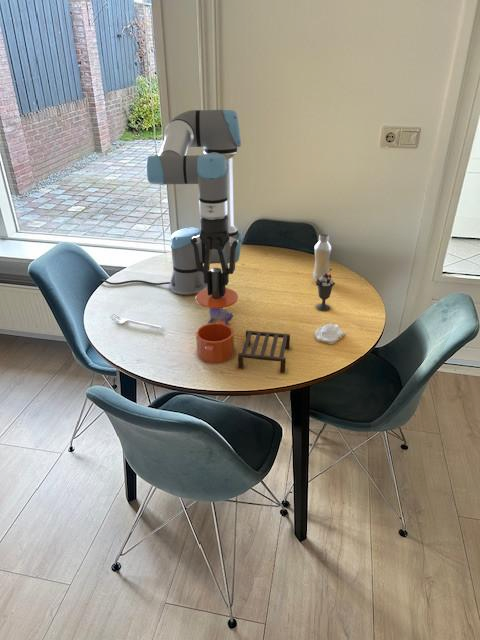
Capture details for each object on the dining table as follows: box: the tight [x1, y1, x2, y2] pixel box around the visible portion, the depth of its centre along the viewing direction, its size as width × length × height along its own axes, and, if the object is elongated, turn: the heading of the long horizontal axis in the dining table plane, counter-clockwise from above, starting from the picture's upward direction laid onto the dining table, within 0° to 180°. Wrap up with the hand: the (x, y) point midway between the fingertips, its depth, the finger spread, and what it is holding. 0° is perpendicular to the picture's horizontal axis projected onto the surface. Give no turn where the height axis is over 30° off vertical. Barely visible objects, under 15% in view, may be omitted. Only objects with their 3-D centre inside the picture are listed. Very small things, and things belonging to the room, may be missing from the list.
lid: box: [195, 267, 239, 309], centre depth 138 cm, size 12×12×10 cm
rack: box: [237, 329, 291, 374], centre depth 146 cm, size 14×14×5 cm
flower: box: [207, 308, 234, 326], centre depth 163 cm, size 9×9×10 cm
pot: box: [195, 321, 235, 364], centre depth 148 cm, size 11×17×8 cm
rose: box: [314, 323, 346, 345], centre depth 156 cm, size 10×4×10 cm
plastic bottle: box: [311, 233, 332, 284], centre depth 188 cm, size 6×7×20 cm
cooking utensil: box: [109, 313, 163, 330], centre depth 165 cm, size 3×20×2 cm, turn 70°
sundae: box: [315, 268, 336, 312], centre depth 171 cm, size 7×7×15 cm
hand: (216, 293), depth 140 cm, fingers closed on lid, 3 cm apart
